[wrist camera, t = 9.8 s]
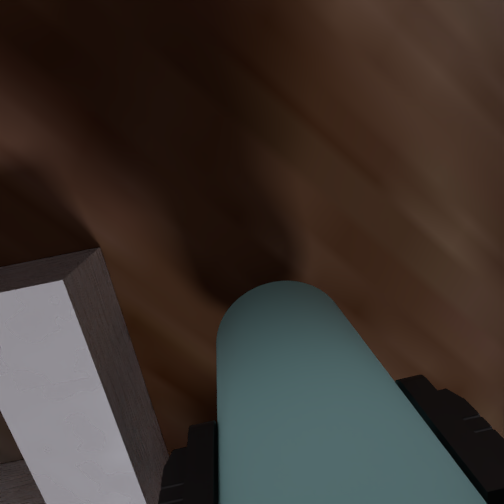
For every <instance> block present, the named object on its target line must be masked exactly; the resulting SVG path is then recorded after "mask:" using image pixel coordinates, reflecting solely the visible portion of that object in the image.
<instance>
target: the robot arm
mask: <svg viewBox="0 0 504 504" xmlns="http://www.w3.org/2000/svg"><path fill="white" fill-rule="evenodd" d="M395 383H396V384H397V386H398V387H399V388H400V389H401V391H402V392H403V393H404V395H405V396H406V397H407V399H408V400H409V401H410V403H411V404H412V405H413V407H414V408H415V409H416V411H417V412H418V413H419V415H420V416H421V417H422V419H423V420H424V421H425V422H426V424H427V425H428V426H429V428H430V429H431V430H432V432H433V433H434V434H435V436H436V437H437V438H438V440H439V441H440V442H441V444H442V445H443V446H444V448H445V449H446V450H447V451H448V453H449V454H450V455H451V457H452V458H453V459H454V461H455V462H456V463H457V465H458V466H459V467H460V469H461V470H462V471H463V473H464V474H465V475H466V477H467V478H468V479H469V481H470V482H471V483H472V484H473V486H474V487H475V488H476V490H477V491H478V492H479V494H480V495H481V496H482V498H483V499H484V500H485V502H486V503H487V504H504V439H503V438H502V437H501V436H500V435H499V434H498V433H497V432H496V431H495V429H494V430H493V429H492V427H491V425H490V424H489V423H488V422H487V421H486V420H485V419H484V418H483V417H480V415H479V413H478V412H477V411H476V410H475V409H474V408H473V407H472V406H471V405H470V404H469V403H468V402H467V401H466V400H465V399H463V398H462V397H460V396H458V395H456V394H455V393H453V392H451V391H449V390H448V389H443V390H438V391H437V390H436V388H435V387H434V386H433V385H432V384H431V383H430V382H429V381H428V380H427V378H426V377H424V376H423V375H416V376H412V377H408V378H403V379H399V380H396V381H395ZM158 504H218V429H217V424H216V421H215V420H213V421H209V422H204V423H200V424H196V425H191V426H190V427H189V432H188V443H187V447H184V448H180V449H175V450H173V452H172V453H171V455H170V457H169V459H168V461H167V462H166V464H165V466H164V468H163V475H162V481H161V491H160V494H159V500H158Z"/></svg>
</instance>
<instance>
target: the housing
mask: <svg viewBox="0 0 504 504" xmlns="http://www.w3.org/2000/svg"><path fill="white" fill-rule="evenodd" d="M0 411H1V413H2V415H3V417H4V419H5V421H6V423H7V425H8V427H9V429H10V431H11V433H12V435H13V437H14V439H15V441H16V443H17V445H18V447H19V450H20V452H21V454H22V456H23V458H24V459H23V460H19V461H14V462H10V463H5V464H1V465H0V504H158V500H159V494H160V491H161V481H162V475H163V468H164V466H165V464H166V462H167V461H168V459H169V455H168V452H167V449H166V446H165V443H164V440H163V437H162V434H161V431H160V428H159V425H158V422H157V419H156V416H155V413H154V409H153V406H152V403H151V400H150V397H149V394H148V391H147V388H146V385H145V382H144V379H143V376H142V373H141V370H140V367H139V364H138V361H137V358H136V355H135V352H134V349H133V346H132V343H131V340H130V337H129V334H128V330H127V327H126V324H125V321H124V318H123V315H122V312H121V309H120V306H119V303H118V300H117V297H116V294H115V291H114V288H113V285H112V282H111V279H110V276H109V273H108V270H107V267H106V264H105V261H104V258H103V254H102V251H101V248H100V247H98V248H93V249H88V250H83V251H78V252H73V253H68V254H64V255H59V256H54V257H49V258H44V259H39V260H34V261H29V262H24V263H19V264H14V265H9V266H4V267H0Z"/></svg>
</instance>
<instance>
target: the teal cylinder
mask: <svg viewBox="0 0 504 504" xmlns="http://www.w3.org/2000/svg"><path fill="white" fill-rule="evenodd" d="M216 349H217V429H218V504H487V503H486V502H485V500H484V499H483V498H482V496H481V495H480V494H479V492H478V491H477V490H476V488H475V487H474V486H473V484H472V483H471V482H470V481H469V479H468V478H467V477H466V475H465V474H464V473H463V471H462V470H461V469H460V467H459V466H458V465H457V463H456V462H455V461H454V459H453V458H452V457H451V455H450V454H449V453H448V451H447V450H446V449H445V448H444V446H443V445H442V444H441V442H440V441H439V440H438V438H437V437H436V436H435V434H434V433H433V432H432V430H431V429H430V428H429V426H428V425H427V424H426V422H425V421H424V420H423V419H422V417H421V416H420V415H419V413H418V412H417V411H416V409H415V408H414V407H413V405H412V404H411V403H410V401H409V400H408V399H407V397H406V396H405V395H404V393H403V392H402V391H401V389H400V388H399V387H398V386H397V384H396V383H395V382H394V380H393V379H392V378H391V376H390V375H389V374H388V372H387V371H386V370H385V368H384V367H383V366H382V364H381V363H380V362H379V360H378V359H377V358H376V356H375V355H374V354H373V353H372V351H371V350H370V349H369V347H368V346H367V345H366V343H365V342H364V341H363V339H362V338H361V337H360V335H359V334H358V333H357V331H356V330H355V329H354V327H353V326H352V325H351V324H350V322H349V321H348V320H347V318H346V317H345V316H344V314H343V313H342V312H341V310H340V309H339V308H338V306H337V305H336V304H335V302H334V301H333V300H332V299H331V298H330V297H329V296H328V295H327V294H325V293H324V292H323V291H321V290H320V289H318V288H316V287H314V286H311V285H309V284H306V283H302V282H297V281H276V282H270V283H267V284H263V285H261V286H258V287H256V288H253V289H252V290H250V291H248V292H246V293H245V294H244V295H242V296H241V297H239V298H238V299H237V300H236V301H235V302H234V303H233V304H232V305H231V307H230V308H229V309H228V310H227V312H226V313H225V315H224V317H223V319H222V321H221V323H220V326H219V329H218V333H217V340H216Z"/></svg>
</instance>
